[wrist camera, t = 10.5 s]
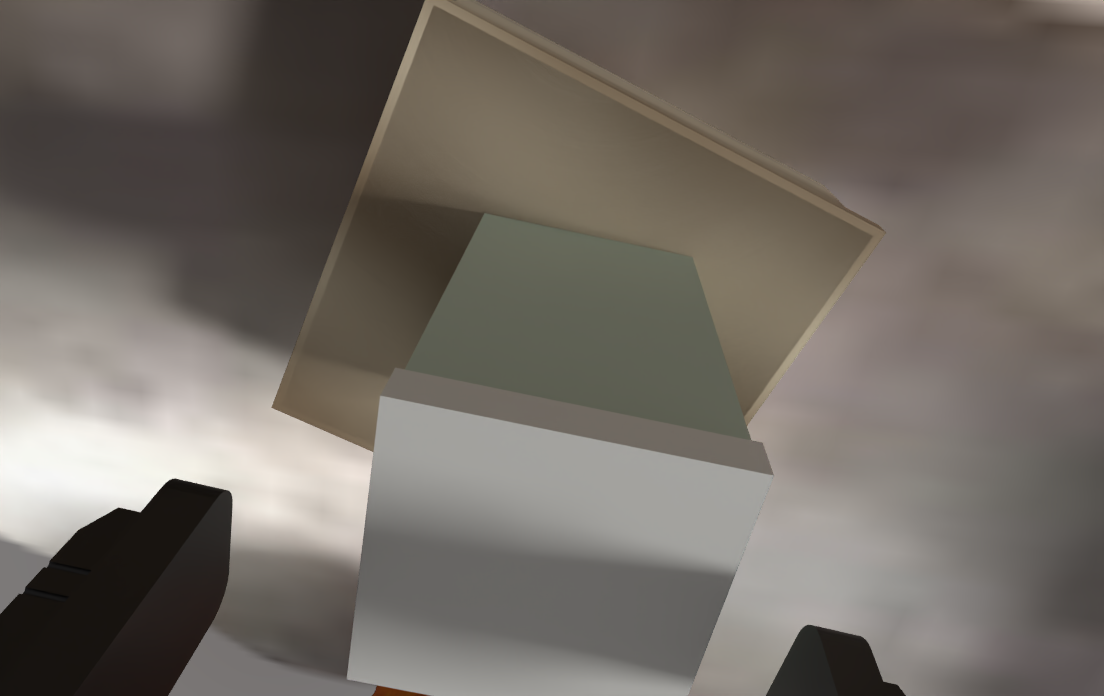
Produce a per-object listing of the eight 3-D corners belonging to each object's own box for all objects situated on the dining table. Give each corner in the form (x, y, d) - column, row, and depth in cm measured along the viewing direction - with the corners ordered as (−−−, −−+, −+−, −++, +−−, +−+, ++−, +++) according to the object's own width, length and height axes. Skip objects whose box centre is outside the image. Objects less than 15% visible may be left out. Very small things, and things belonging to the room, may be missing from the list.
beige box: (468, -14, 21) (428, -9, 16) (830, 179, 22) (886, 232, 18) (331, 330, 26) (271, 407, 21) (638, 470, 27) (643, 569, 23)
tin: (480, 207, 18) (380, 395, 10) (697, 253, 18) (773, 475, 10) (449, 397, 20) (346, 679, 12) (643, 437, 21) (669, 741, 12)
